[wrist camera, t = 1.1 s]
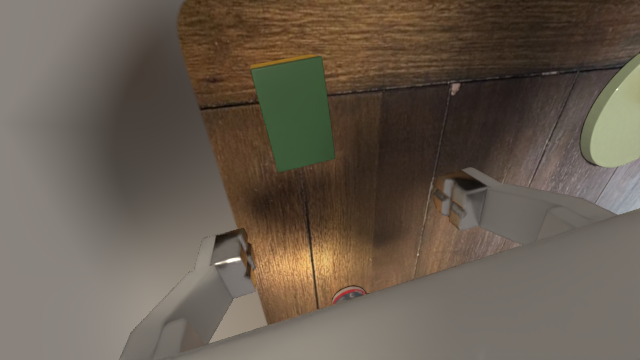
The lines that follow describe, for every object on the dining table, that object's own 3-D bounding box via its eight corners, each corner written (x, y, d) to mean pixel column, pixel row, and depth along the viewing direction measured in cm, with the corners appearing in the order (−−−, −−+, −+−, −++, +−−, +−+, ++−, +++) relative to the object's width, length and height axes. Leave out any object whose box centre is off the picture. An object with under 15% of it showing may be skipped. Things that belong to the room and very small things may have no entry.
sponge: (251, 65, 20) (250, 69, 17) (310, 53, 21) (322, 56, 17) (274, 154, 24) (278, 172, 21) (324, 142, 25) (335, 158, 21)
